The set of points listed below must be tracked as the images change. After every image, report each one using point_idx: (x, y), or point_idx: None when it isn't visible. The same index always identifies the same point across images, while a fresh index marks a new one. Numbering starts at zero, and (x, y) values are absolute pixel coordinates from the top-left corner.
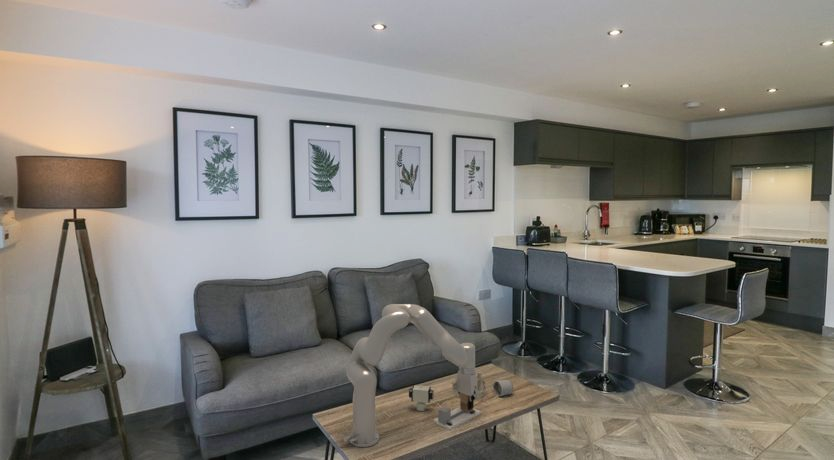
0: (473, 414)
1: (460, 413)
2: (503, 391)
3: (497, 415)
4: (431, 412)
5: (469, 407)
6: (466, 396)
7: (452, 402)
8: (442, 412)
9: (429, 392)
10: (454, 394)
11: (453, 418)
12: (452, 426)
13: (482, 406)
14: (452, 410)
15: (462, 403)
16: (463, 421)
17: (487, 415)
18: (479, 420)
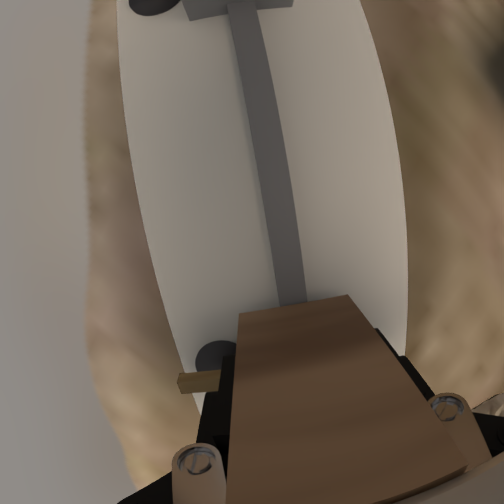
0: (183, 348)
1: (268, 229)
2: None
3: (131, 458)
4: (480, 69)
5: (222, 374)
6: (236, 497)
7: (491, 332)
8: None
9: None
10: None
11: (236, 88)
12: (119, 9)
13: None
14: (402, 214)
15: (333, 346)
16: (138, 168)
17: (157, 426)
18: (109, 332)
